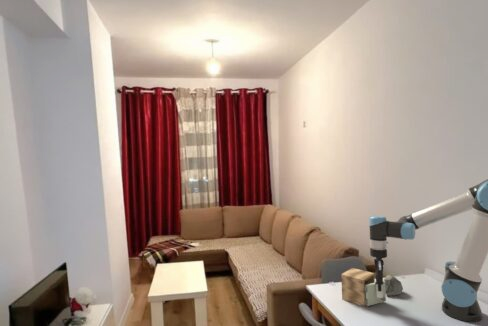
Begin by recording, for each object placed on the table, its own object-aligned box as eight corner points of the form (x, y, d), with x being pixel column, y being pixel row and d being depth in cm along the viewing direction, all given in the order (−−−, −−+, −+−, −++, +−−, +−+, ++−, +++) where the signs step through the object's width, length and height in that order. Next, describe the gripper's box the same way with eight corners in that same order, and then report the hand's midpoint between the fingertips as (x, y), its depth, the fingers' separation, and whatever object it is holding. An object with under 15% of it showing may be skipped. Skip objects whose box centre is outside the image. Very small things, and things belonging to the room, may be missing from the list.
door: (387, 302, 151) (387, 282, 151) (368, 307, 147) (367, 286, 147) (384, 300, 154) (383, 280, 153) (364, 305, 149) (364, 285, 149)
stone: (396, 277, 158) (390, 270, 168) (380, 289, 160) (376, 281, 170) (409, 292, 157) (402, 283, 167) (393, 303, 159) (388, 294, 169)
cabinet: (375, 298, 158) (374, 273, 158) (364, 306, 150) (363, 280, 150) (353, 291, 167) (352, 267, 166) (342, 299, 158) (341, 274, 158)
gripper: (388, 252, 141) (389, 303, 140) (385, 245, 153) (386, 293, 152) (371, 250, 143) (372, 301, 143) (369, 244, 155) (370, 291, 155)
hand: (379, 297), depth 148 cm, fingers closed
